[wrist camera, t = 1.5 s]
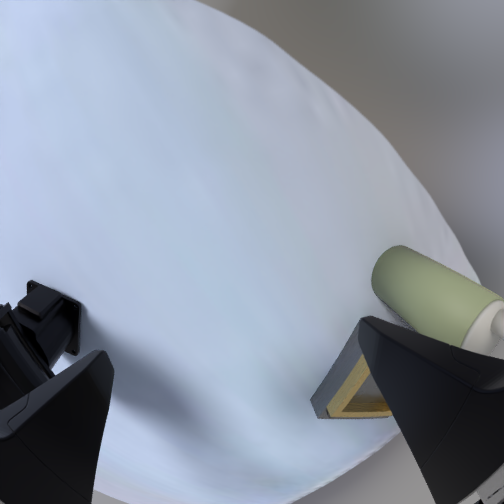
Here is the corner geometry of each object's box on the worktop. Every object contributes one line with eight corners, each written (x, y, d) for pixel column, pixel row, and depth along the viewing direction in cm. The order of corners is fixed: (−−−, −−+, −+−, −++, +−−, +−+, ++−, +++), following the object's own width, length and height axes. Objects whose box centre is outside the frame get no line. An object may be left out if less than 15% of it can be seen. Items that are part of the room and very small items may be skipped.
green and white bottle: (401, 305, 25) (497, 391, 11) (361, 292, 24) (467, 397, 10) (424, 255, 24) (538, 321, 10) (387, 237, 23) (520, 308, 8)
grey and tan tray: (378, 402, 29) (392, 425, 25) (309, 399, 27) (321, 428, 23) (424, 335, 27) (446, 355, 23) (359, 319, 25) (381, 344, 20)
